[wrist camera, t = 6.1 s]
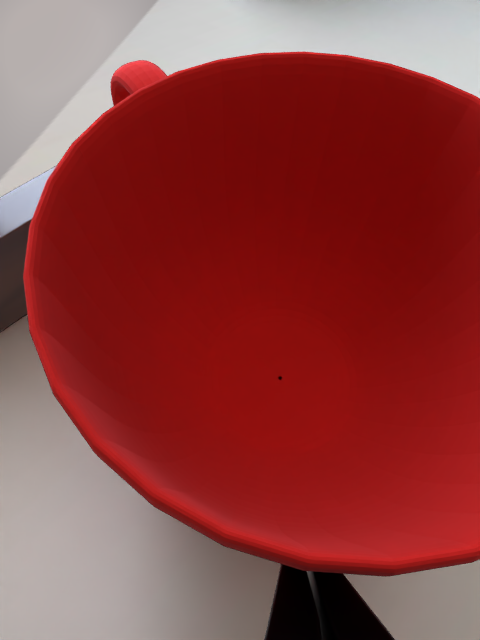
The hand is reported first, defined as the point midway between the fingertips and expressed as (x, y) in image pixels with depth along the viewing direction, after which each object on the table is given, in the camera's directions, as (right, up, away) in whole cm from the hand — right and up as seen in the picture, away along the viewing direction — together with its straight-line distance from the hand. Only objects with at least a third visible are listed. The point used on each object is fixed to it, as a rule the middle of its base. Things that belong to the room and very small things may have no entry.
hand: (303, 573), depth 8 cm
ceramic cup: (-1, +4, +10) cm, 11 cm away
